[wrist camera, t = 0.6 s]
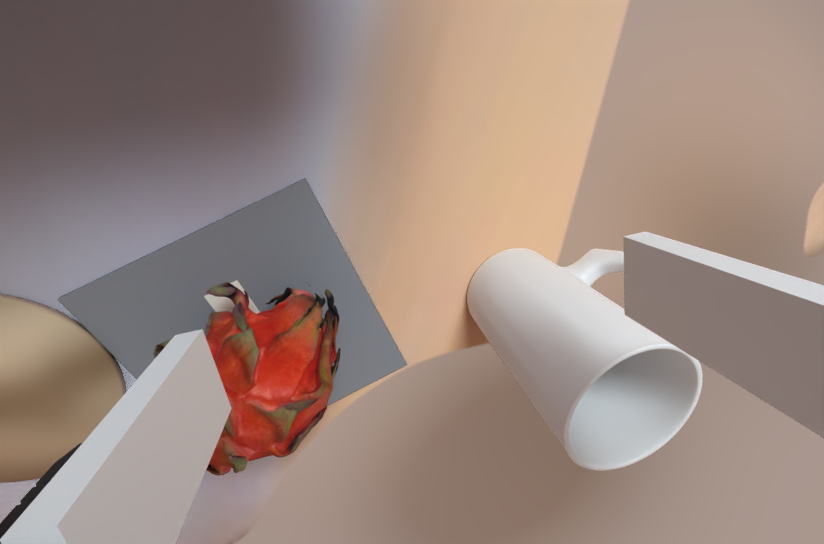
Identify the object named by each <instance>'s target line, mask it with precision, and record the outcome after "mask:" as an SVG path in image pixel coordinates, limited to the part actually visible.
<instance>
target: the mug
mask: <svg viewBox="0 0 824 544" xmlns="http://www.w3.org/2000/svg"><path fill="white" fill-rule="evenodd" d="M614 272H624V251H623V252H622V251H614V250H604V249H592V250H590V251H588V252H587V253H586V254H585V255H584V256H583V257H582V258H581V259H579V260H578V261H577V262H575V263H574V264H572V265H570V266H567V267H560V266H558V265H556V264H554V263H553V262H551V261H549V260H548V259H546V258H545V257H543V256H542V255H540V254H538V253H537V252H535V251H532V250H529V249H525V248H512V249H507V250H504V251H501V252H499V253H497V254H495V255H493V256H492V257H490V258H489V259H487V260H486V261H485V262H484V263H483V264H482V265H481V266H480V267H479V268H478V269H477V271H476V272H475V274H474V275H473V277H472V279H471V281H470V284H469V287H468V292H467V305H468V309H469V312H470V314H471V316H472V318H473V319H474V321H475V322H476V324H477V325H478V326H479V328H480V329H481V331H482V332H483V334H484V336H485V337H486V339H487V340H488V342H489V343H490V344H491V346H492V347H493V348H494V350H495V351H496V353H497V354H498V355H499V357H500V358H501V360H502V361H503V363H504V364H505V365H506V367H507V368H508V369H509V371H510V373H511V374H512V375H513V377H514V378H515V380H516V381H517V383H518V384H519V385H520V387H521V388H522V390H523V391H524V393H525V394H526V395H527V397H528V398H529V400H530V401H531V403H532V404H533V405H534V407H535V408H536V410H537V411H538V413H539V414H540V415H541V417H542V418H543V419H544V421H545V422H546V424H547V425H548V427H549V428H550V429H551V430H552V432H553V433H554V434H555V436H556V437H557V438H558V439H559V441H560V442H561V443H562V445H563V446H564V447H565V450H566V452H567V454H568V455H569V457H570V458H571V459H572V461H574V462H575V463H576V464H578V465H579V466H581V467H584V468H587V469H591V470H612V469H617V468H621V467H624V466H628V465H630V464H633V463H635V462H638V461H640V460H642V459H644V458H645V457H647V456H649V455H650V454H652V453H654V452H655V451H656V450H658V449H659V448H661V447H662V446H663V445H664V444H666V443H667V442H668V441H669V440H670V439H671V438H672V437H673V436H674V435H675V434H676V433H677V432H678V431H679V430H680V428H681V427H682V426H683V425H684V424H685V422H686V421H687V420H688V418H689V416H690V415H691V413H692V412H693V410H694V408H695V406H696V403H697V401H698V399H699V395H700V392H701V388H702V369H701V366H700V363H699V361H698V360H697V359H695V358H694V357H692V356H690V355H689V354H687V353H686V352H684V351H682V350H681V349H679V348H678V347H676V346H674V345H673V344H671V343H669V342H668V341H666V340H665V339H663V338H661V337H660V336H658V335H657V334H655V333H653V332H652V331H650V330H649V329H647V328H645V327H644V326H642V325H640V324H639V323H637V322H636V321H634V320H632V319H631V318H629V317H628V316H626V315H625V309H623V308H622V307H620V306H619V305H617V304H616V303H614V302H612V301H611V300H609V299H608V298H606V297H605V296H603V295H602V294H600V293H598V292H597V291H595V290H594V289H592V288H591V285H592V284H593V283H594V282H595V281H596V280H597V279H599V278H600V277H601V276H603V275H605V274H609V273H614Z"/></svg>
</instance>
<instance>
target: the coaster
mask: <svg viewBox="0 0 824 544" xmlns="http://www.w3.org/2000/svg"><path fill="white" fill-rule="evenodd" d="M125 393H126V388H125V381H124V378H123V374H122V371H121V369H120V367H119V365H118V362H117V361H116V359H115V358H114V356H113V355H112V354H111V353H110V352H109V351H108V350H107V349H106V348H105V347H104V346H103V345H102V344H101V343H100V342H99V341H98V340H97V339H96V338H95V337H94V336H93V335H92V334H91V333H90V332H89V331H88V330H87V329H86V328H85V327H84V326H83V325H81V324H80V323H79V322H77V321H76V320H74V319H72V318H70V317H68V316H67V315H65V314H63V313H61V312H59V311H57V310H54V309H52V308H50V307H48V306H45V305H43V304H40V303H36V302H33V301H30V300H27V299H23V298H19V297H15V296H10V295H5V294H0V482H17V481H24V480H31V479H36V478H41V477H42V476H43V475H44V474H45V473H46V472H47V471H48V470H49V469H50V467H51V466H52V465H53V464H54V463H55V462H56V461H58V460H59V459H60V458H62V457H63V456H64V455H65V454H67V453H68V452H69V451H71V450H72V449H73V448H75V447H76V446H77V445H78V444H80V443H83V442H84V441H85V440H86V439H87V437H88V436H89V435H90V434H91V433H92V432H93V430H94V429H95V428H96V427H97V426H98V425H99V423H100V422H101V421H102V420H103V419H104V418H105V416H106V415H107V414H108V413H109V412H110V411H111V409H112V408H113V407H114V406H115V405H116V404H117V402H118V401H119V400H120V399H121V398H122V397H123V395H124V394H125Z"/></svg>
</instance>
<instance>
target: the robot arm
mask: <svg viewBox="0 0 824 544" xmlns="http://www.w3.org/2000/svg"><path fill="white" fill-rule="evenodd" d="M623 240H624V304H625V305H624V307H625V315H626V316H628V317H629V318H631V319H632V320H634V321H636V322H637V323H639V324H640V325H642V326H644V327H645V328H647V329H649V330H650V331H652V332H653V333H655V334H657V335H658V336H660V337H661V338H663V339H665V340H666V341H668V342H669V343H671V344H673V345H674V346H676V347H678V348H679V349H681V350H682V351H684V352H686V353H687V354H689V355H690V356H692V357H694V358H695V359H697V360H698V361H700V362H702V363H703V364H705V365H707V366H708V367H710V368H711V369H713V370H715V371H716V372H718V373H720V374H721V375H723V376H724V377H726V378H727V379H729V380H731V381H732V382H734V383H736V384H737V385H739V386H740V387H742V388H744V389H745V390H747V391H749V392H750V393H752V394H753V395H755V396H757V397H758V398H760V399H761V400H763V401H765V402H766V403H768V404H769V405H771V406H773V407H774V408H776V409H778V410H779V411H781V412H782V413H784V414H786V415H787V416H789V417H790V418H792V419H794V420H795V421H797V422H799V423H800V424H802V425H803V426H805V427H806V428H808V429H810V430H811V431H813V432H815V433H816V434H818V435H820V436H821V437H823V438H824V286H823V285H820V284H817V283H814V282H810V281H807V280H804V279H800V278H797V277H794V276H790V275H787V274H784V273H780V272H777V271H774V270H771V269H767V268H764V267H761V266H757V265H754V264H751V263H748V262H744V261H741V260H738V259H734V258H731V257H728V256H724V255H721V254H718V253H715V252H711V251H708V250H704V249H701V248H698V247H695V246H692V245H688V244H685V243H681V242H678V241H675V240H672V239H668V238H665V237H662V236H659V235H655V234H652V233H648V232H642V233H637V234H632V235H628V236H624V237H623ZM231 409H232V408H231V405H230V402H229V400H228V397H227V394H226V392H225V389H224V386H223V383H222V381H221V378H220V375H219V373H218V370H217V367H216V365H215V362H214V359H213V356H212V354H211V351H210V348H209V346H208V343H207V340H206V337H205V335H204V332H203V329H201V330H196V331H191V332H187V333H182V334H178V335H175V336H174V337H173V338H172V339H171V341H170V342H169V343H168V344H167V345H166V346H165V348H164V349H163V350H162V351H161V352H160V353H159V355H158V356H157V357H156V358H155V359H154V360H153V362H152V363H151V364H150V365H149V366H148V367H147V369H146V370H145V371H144V372H143V373H142V374H141V376H140V377H139V378H138V379H137V380H136V381H135V383H134V384H133V385H132V386H131V387H130V388H129V390H128V391H127V392H126V393H125V394H124V395H123V397H122V398H121V399H120V400H119V401H118V402H117V404H116V405H115V406H114V407H113V408H112V409H111V411H110V412H109V413H108V414H107V415H106V416H105V418H104V419H103V420H102V421H101V422H100V423H99V425H98V426H97V427H96V428H95V429H94V430H93V432H92V433H91V434H90V435H89V436H88V437H87V439H86V440H85V441H84V442H83V443H80V444H78V445H77V446H76V447H75V448H73V449H72V450H71V451H69V452H68V453H67V454H65V455H64V456H63V457H62V458H60V459H59V460H58V461H56V462H55V463H54V464H53V465H52V466H51V467H50V469H49V470H48V471H47V472H46V473H45V474H44V475H43V476H42V478H41V479H40V480H39V481H38V482H37V483H36V487H33V488H32V489H31V490H30V491H29V492H28V493H27V494H26V495H25V497H24V498H23V499H22V500H21V504H20V505H17V506H16V507H15V508H14V509H13V510H12V511H11V512H10V513H9V515H8V516H7V517H6V518H5V519H4V520H3V521H2V522H1V524H0V544H176V542H177V539H178V537H179V535H180V532H181V530H182V527H183V525H184V523H185V520H186V518H187V515H188V513H189V510H190V508H191V506H192V503H193V501H194V498H195V496H196V494H197V491H198V489H199V486H200V484H201V481H202V479H203V477H204V474H205V472H206V469H207V467H208V464H209V462H210V460H211V457H212V455H213V452H214V450H215V448H216V445H217V443H218V440H219V438H220V435H221V433H222V431H223V428H224V426H225V423H226V421H227V419H228V416H229V414H230V411H231Z"/></svg>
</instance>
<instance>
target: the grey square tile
mask: <svg viewBox="0 0 824 544" xmlns="http://www.w3.org/2000/svg"><path fill="white" fill-rule="evenodd" d="M303 279H304V280H303ZM225 282H229V283H230V284H232V285H234V286H235V287H237V288H238V289H240V290H241V291H242V292H243V293H244V291H246V292H247V294H248V296H249V306H248V308H249V309H250V310H251V311H253V312H254V313H256V314H257V313H260V312H263V311H267V310H270V309H272V308H274V307H275V306H276V305H275V302H276V301H277V300H275V301H274V303H270V304H266V303H268V302H269V301H270V300H271V299H272V298H273V297H275V296H276V295H277V296H278V295H281V294H283V293H284V291H285V289H286V288H287V287H290V288H294V289H300V290H305V291H308V292H310V293H312V294H313V295H314V297H315V298H316V295H315V293H316V294H317V295H319V296H320V297H321V298H323V297H324V298H325V300H326V303H325V304H324V306H323V308H322V318H323V319H324V317H325V313H326V311H327V310H328V305H327V298H326V295H325V291H326V289H328V290H329V291H330V292H331V293H332V295H333V297H334V304H333V305H335V306H336V308H337V310H338V314H339V318H340V320H339V326H338V330H337V334H336V353H337V352H338V349H339V348H340V349H341V350H340V359H339V365H338V362H337V365H338V369H337V372H336V374H335V376H334V378H333V390H332V393H331V395H330V397H329V399H328V404H327V406H328V405H330V404H332V403H334V402H335V401H337V400H339V399H341V398H343V397H345V396H347V395H349V394H351V393H353V392H355V391H357V390H359V389H361V388H363V387H365V386H367V385H368V384H370V383H372V382H374V381H376V380H378V379H380V378H382V377H384V376H386V375H388V374H390V373H392V372H394V371H396V370H398V369H399V368H401V367H403V366H405V365H407V364H406V362H405V360H404V358H403V356H402V354H401V353H400V351H399V349H398V347H397V345H396V343H395V342H394V340H393V338H392V336H391V334H390V332H389V331H388V329H387V327H386V325H385V323H384V322H383V320H382V318H381V316H380V314H379V312H378V311H377V309H376V307H375V305H374V303H373V301H372V300H371V298H370V296H369V294H368V292H367V290H366V289H365V287H364V285H363V283H362V281H361V280H360V278H359V276H358V274H357V272H356V270H355V269H354V267H353V265H352V263H351V261H350V259H349V258H348V256H347V254H346V252H345V250H344V249H343V247H342V245H341V243H340V241H339V239H338V238H337V236H336V234H335V232H334V230H333V228H332V227H331V225H330V223H329V221H328V219H327V218H326V216H325V214H324V212H323V210H322V208H321V207H320V205H319V203H318V201H317V199H316V197H315V196H314V194H313V192H312V190H311V188H310V187H309V185H308V183H307V181H306V179H303V180H301V181H299V182H297V183H295V184H293V185H291V186H289V187H287V188H285V189H283V190H281V191H278V192H276V193H274V194H272V195H270V196H268V197H266V198H264V199H262V200H260V201H258V202H256V203H254V204H252V205H250V206H248V207H245V208H243V209H241V210H239V211H237V212H235V213H233V214H231V215H229V216H227V217H225V218H223V219H221V220H219V221H217V222H215V223H212V224H210V225H208V226H206V227H204V228H202V229H200V230H198V231H196V232H194V233H192V234H190V235H188V236H186V237H184V238H182V239H180V240H177V241H175V242H173V243H171V244H169V245H167V246H165V247H163V248H161V249H159V250H157V251H155V252H153V253H151V254H149V255H147V256H144V257H142V258H140V259H138V260H136V261H134V262H132V263H130V264H128V265H126V266H124V267H122V268H120V269H118V270H116V271H114V272H111V273H109V274H107V275H105V276H103V277H101V278H99V279H97V280H95V281H93V282H91V283H89V284H87V285H85V286H83V287H81V288H78V289H76V290H74V291H72V292H70V293H68V294H66V295H64V296H62V297H60V298H58V301H59V302H60V303H61V304H62V305H63V306H64V307H65V308H66V309H67V310H68V311H69V312H70V313H71V314H72V315H73V316H74V317H75V318H76V319H77V320H78V321H79V322H80V323H81V324H82V325H83V326H84V327H85V328H86V329H87V330H88V331H89V332H90V333H91V334H92V335H93V336H94V337H95V338H96V339H97V340H98V341H99V342H100V343H101V344H102V345H103V346H104V347H105V348H106V349H107V350H108V351H109V352H110V353H111V354H112V355H113V356H114V357H115V358H116V359H117V360H118V361H119V362H120V363H121V364H122V365H123V366H124V367H125V368H126V369H127V370H128V371H129V372H130V373H131V374H132V375H133V376H134V377H135V378H136V379H138V378H139V377H140V376H141V374H142V373H143V372H144V371H145V370H146V369H147V367H148V366H149V365H150V364H151V363H152V362H153V360H154V359H155V358H154V355H153V352H154V349H155V347H156V345H158V344H161V343H162V342H164V341H166V340H169V339H172V338H173V337H174V336H175V335H178V334H182V333H187V332H191V331H196V330H201V329H203V332H204V335H205V337H206V334H205V327H206V324H207V323H208V321H209V316H210V314H211V313H213V312H222V311H229V312H232V311H233V308H234V307H235V304H234V303H233V301H232V300H231V299H229V298H227V297H217V296H214V295H210V294H207V293H206V292H207V290H209V289H210V288H212V287H213V286H215V285H219V284H221V283H225ZM305 282H306V283H305ZM308 284H309V285H310V286H309V285H308ZM244 294H245V293H244ZM322 296H323V297H322ZM334 364H335V363H333V365H332V366H334Z"/></svg>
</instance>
